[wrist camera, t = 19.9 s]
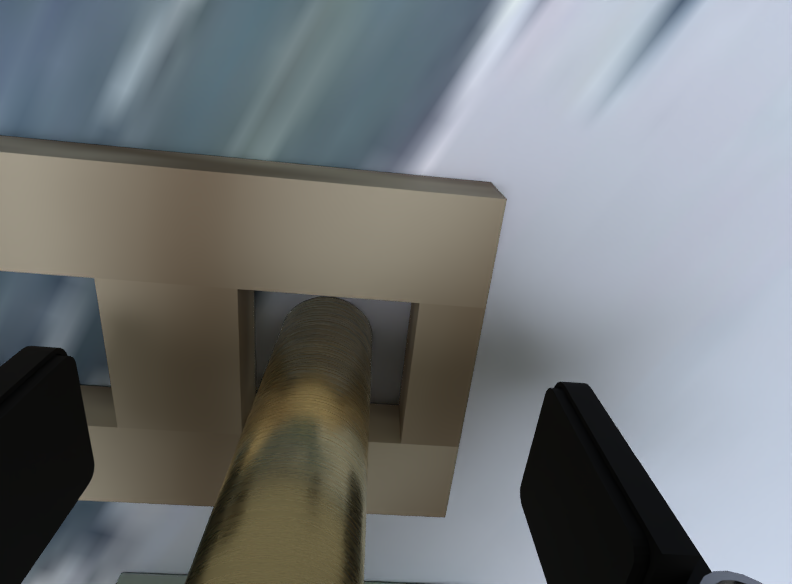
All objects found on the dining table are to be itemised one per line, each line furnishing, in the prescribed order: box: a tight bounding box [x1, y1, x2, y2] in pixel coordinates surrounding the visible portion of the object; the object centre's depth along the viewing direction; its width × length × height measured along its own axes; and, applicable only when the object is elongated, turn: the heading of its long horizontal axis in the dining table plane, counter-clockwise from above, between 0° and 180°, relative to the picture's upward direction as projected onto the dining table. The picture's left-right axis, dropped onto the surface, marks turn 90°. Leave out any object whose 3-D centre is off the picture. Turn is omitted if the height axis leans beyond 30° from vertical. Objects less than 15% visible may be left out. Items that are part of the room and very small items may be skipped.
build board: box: [0, 136, 507, 517], centre depth 12 cm, size 14×9×2 cm, turn 84°
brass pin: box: [185, 297, 372, 584], centre depth 9 cm, size 2×2×9 cm
